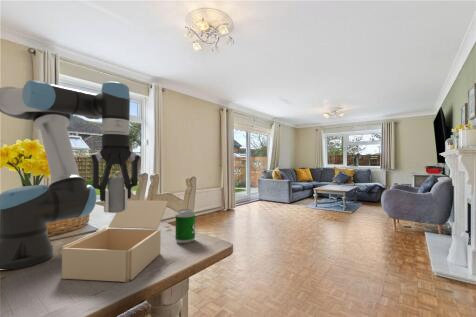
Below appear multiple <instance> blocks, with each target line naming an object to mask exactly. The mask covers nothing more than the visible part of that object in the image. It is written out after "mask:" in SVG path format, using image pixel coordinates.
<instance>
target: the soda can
mask: <svg viewBox="0 0 476 317" xmlns="http://www.w3.org/2000/svg"><path fill="white" fill-rule="evenodd" d="M195 238H196V213H195V211H194V210H193V209H188V208H187V209H180V210H177V212H176V213H175V241H176V242H177V243H178V242H179V243H178V244H180V243H188V242H191V241H192V242H193V241H194V240H195ZM192 242H191V243H192ZM188 244H189V243H188Z"/></svg>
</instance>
